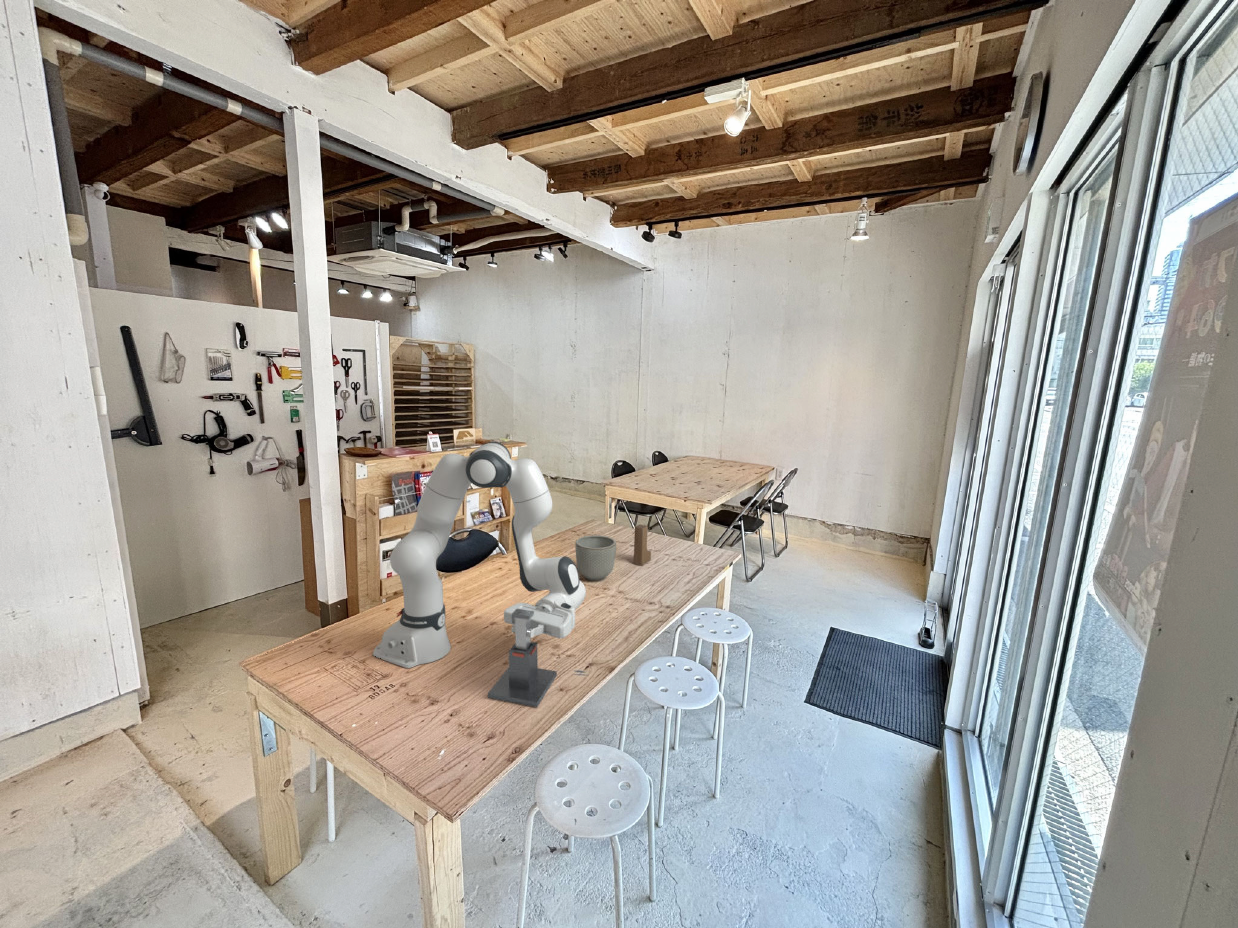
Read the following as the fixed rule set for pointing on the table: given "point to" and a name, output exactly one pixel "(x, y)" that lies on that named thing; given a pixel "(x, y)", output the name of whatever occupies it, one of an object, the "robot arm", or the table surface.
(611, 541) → the planter
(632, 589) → the table surface
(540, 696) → the stand
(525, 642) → the column
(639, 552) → the wooden block
